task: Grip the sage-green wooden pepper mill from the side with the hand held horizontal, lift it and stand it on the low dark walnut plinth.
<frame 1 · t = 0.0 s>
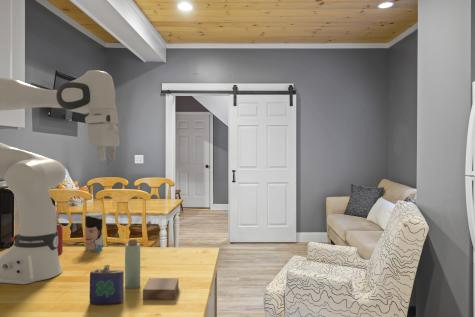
hand: (107, 160, 125), 39 cm above the kitchen counter, tool pointing down, fingers open, 8 cm apart
pepper mill: (132, 285, 116), on the kitchen counter
cup: (94, 250, 155), on the kitchen counter
beer can: (53, 254, 149), on the kitchen counter
plinth: (161, 293, 111), on the kitchen counter
flask: (106, 303, 104), on the kitchen counter
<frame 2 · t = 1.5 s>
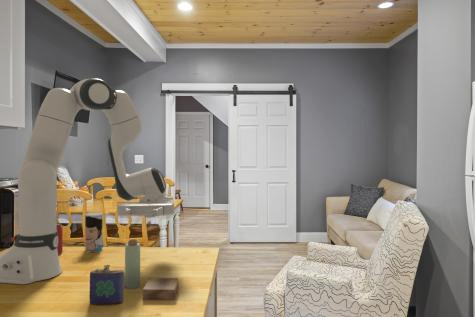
hand: (141, 212, 127), 21 cm above the kitchen counter, tool horizontal, fingers open, 8 cm apart
nothing on the kitchen counter moved.
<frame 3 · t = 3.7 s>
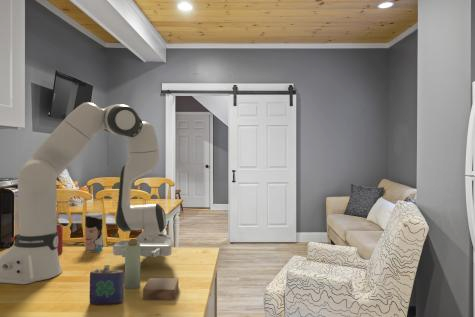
hand: (138, 254, 124), 7 cm above the kitchen counter, tool horizontal, fingers open, 8 cm apart
nothing on the kitchen counter moved.
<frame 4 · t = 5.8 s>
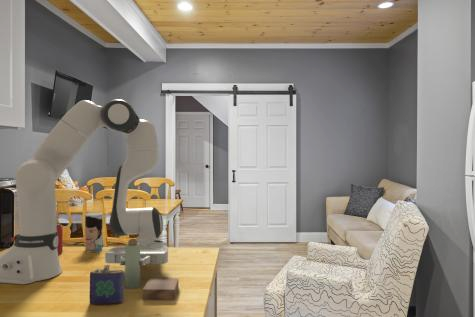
hand: (131, 263, 115), 8 cm above the kitchen counter, tool horizontal, fingers closed on pepper mill, 5 cm apart
pepper mill: (132, 285, 116), on the kitchen counter, touching gripper
everything else where it was.
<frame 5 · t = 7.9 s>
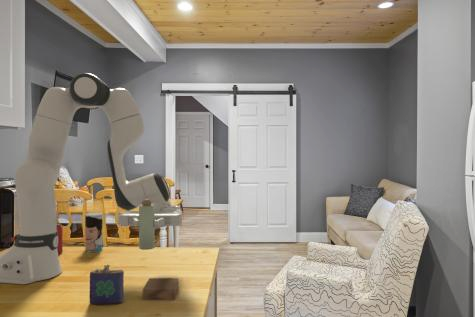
hand: (146, 223, 113), 20 cm above the kitchen counter, tool horizontal, fingers closed on pepper mill, 5 cm apart
pepper mill: (146, 247, 114), point 13 cm above the kitchen counter, touching gripper
everything else where it was.
when the fingers open (12 cm above the kitchen counter, at t = 10.2 s): pepper mill drops 1 cm, resting on plinth.
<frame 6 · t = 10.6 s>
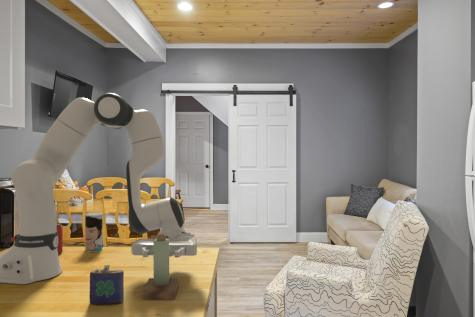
hand: (161, 254, 109), 12 cm above the kitchen counter, tool horizontal, fingers open, 8 cm apart
pepper mill: (161, 283, 111), point 3 cm above the kitchen counter, touching plinth
everything else where it was.
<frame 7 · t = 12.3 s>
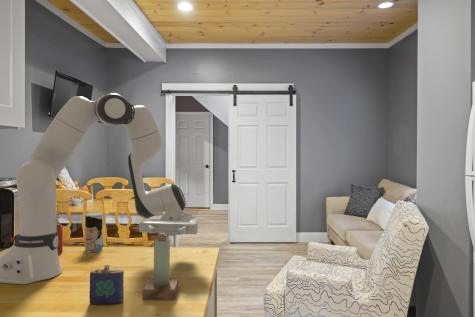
hand: (165, 231, 123), 16 cm above the kitchen counter, tool horizontal, fingers open, 8 cm apart
nothing on the kitchen counter moved.
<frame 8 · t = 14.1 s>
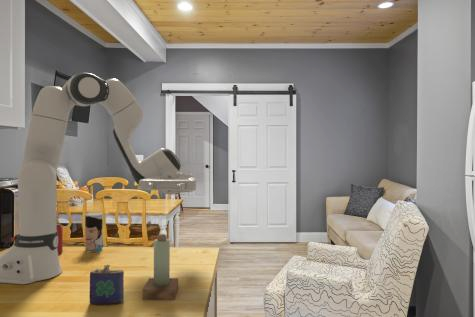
hand: (164, 186, 127), 30 cm above the kitchen counter, tool horizontal, fingers open, 8 cm apart
nothing on the kitchen counter moved.
at the end: pepper mill inside the target area on the plinth (0.1 cm from its centre), point 3.0 cm above the plinth's base; pepper mill tilted 0°; the gripper is holding nothing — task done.
